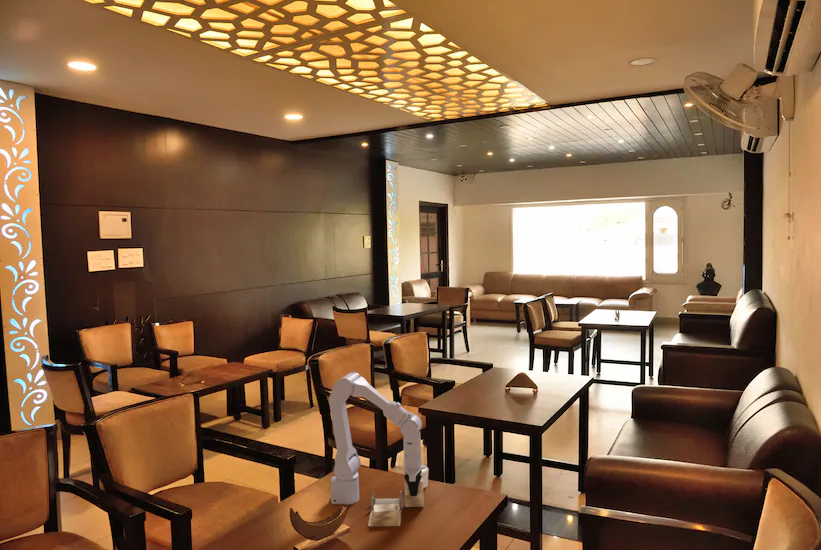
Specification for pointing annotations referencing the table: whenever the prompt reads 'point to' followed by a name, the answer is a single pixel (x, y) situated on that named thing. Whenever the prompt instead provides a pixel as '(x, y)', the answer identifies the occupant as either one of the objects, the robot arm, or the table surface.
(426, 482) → the white cylinder
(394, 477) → the table surface
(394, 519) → the offcut lower
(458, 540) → the table surface
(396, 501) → the rack
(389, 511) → the offcut upper
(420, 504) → the birch block
